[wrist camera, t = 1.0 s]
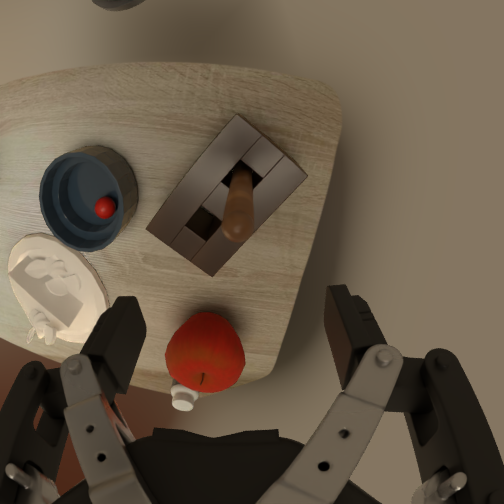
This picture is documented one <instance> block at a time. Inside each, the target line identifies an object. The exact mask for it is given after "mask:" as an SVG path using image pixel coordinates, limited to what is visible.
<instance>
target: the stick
mask: <svg viewBox="0 0 504 504" xmlns="http://www.w3.org/2000/svg"><path fill="white" fill-rule="evenodd" d="M221 229H222V232H223V234H224V236H225V237H226V238H227V239H228V240H230V241H232V242H243V241H246V240H247V239H248V238H250V236H251V235H252V233H253V231H254V207H253V187H252V169H251V168H250V167H249V166H248V165H246V164H245V163H244V162H243V161H242V160H241V159H240V160H239V161H238V162H237V164H236V165H235V167H234V171H233V175H232V179H231V183H230V188H229V192H228V196H227V201H226V205H225V210H224V214H223V219H222V223H221Z"/></svg>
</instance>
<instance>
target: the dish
mask: <svg viewBox="0 0 504 504" xmlns="http://www.w3.org/2000/svg"><path fill="white" fill-rule="evenodd" d="M8 271H9V273H8V275H9V279H10V283H11V286H12V289H13V291H14V294H15V296H16V298H17V299H18V301H19V303H20V304H21V306H22V308H23V309H24V311H25V313H26V315H27V317H28V319H29V321H30V323H31V325H32V328H31V329H30V330H29V332H28V335H27V344H28V343H29V342H30V341H31V340H32V338H33V336H34V334H35V332H36V334H37V336H38V338H39V339H41V338H43V337H45V343H46V345H52V344H54V342H55V340H56V337H58V338H60V339H63V340H65V341H68V342H77V343H85V342H86V340H87V339H88V337H89V335H90V333H91V332H92V330H93V328H94V326H95V325H96V322H97V321H98V319H99V317H100V315H101V314H102V313H103V312H105V311H106V310H107V309H108V308H110V307H109V302H108V297H107V292H106V290H105V288H104V286H103V284H102V282H101V280H100V278H99V276H98V274H97V272H96V270H95V269H94V268H93V267H92V266H91V265H90V264H89V263H88V261H87V260H86V259H85V258H84V257H83V256H82V254H81V253H80V252H79V251H77V250H74V249H72V248H70V247H67V246H66V245H64V244H63V243H62V242H61V241H60V240H58V239H57V238H56V237H53V236H50V235H47V234H44V233H39V234H32V235H27V236H25V237H24V238H23V239H22V240H21V241H19V242H18V243H17V244H16V245H15V246H14V247H13V248H12V251H11V254H10V257H9V260H8Z"/></svg>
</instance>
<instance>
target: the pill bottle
mask: <svg viewBox="0 0 504 504" xmlns="http://www.w3.org/2000/svg"><path fill="white" fill-rule="evenodd" d="M171 394H172V396H173V400H172V404H173V406H174V407H175V408H176V409H179V410H182V411H189V410H191V409H192V408H193V405H194V401H195V400H196V399H197V398H198V396H199V391H193V390H191V389H189V388H187V387H185V386H183V385H182V384H180V383H179V382H178V381H176V380H175V379H174V378H173V382H172V387H171Z"/></svg>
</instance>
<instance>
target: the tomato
mask: <svg viewBox="0 0 504 504" xmlns="http://www.w3.org/2000/svg"><path fill="white" fill-rule="evenodd" d="M115 210H116V205H115V202H114V201H113V199H111V198H110V197H101V198H100V199H98V200H97V202H96V204H95V212H96V214H97V216H98V217H100V218H102V219H108V218H110V217H111V216H112V215H113V214H114V213H115Z"/></svg>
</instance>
